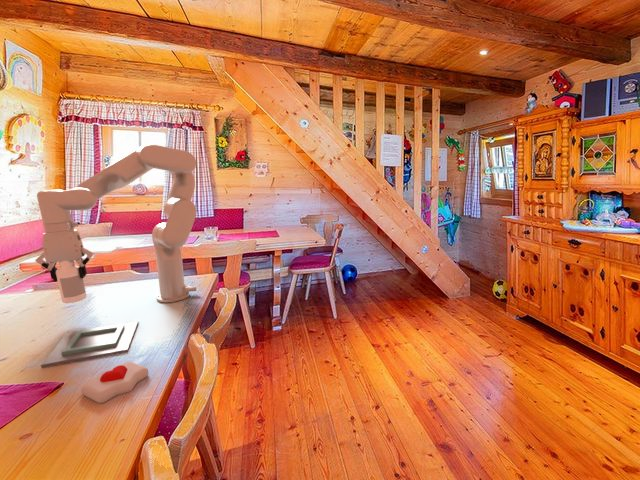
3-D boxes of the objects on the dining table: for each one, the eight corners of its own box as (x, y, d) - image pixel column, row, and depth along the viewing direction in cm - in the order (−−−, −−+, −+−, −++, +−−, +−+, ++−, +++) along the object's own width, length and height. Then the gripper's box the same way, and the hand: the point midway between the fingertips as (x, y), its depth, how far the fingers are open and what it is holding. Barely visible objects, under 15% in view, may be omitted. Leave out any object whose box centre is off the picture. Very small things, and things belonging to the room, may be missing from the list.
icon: (102, 392, 68) (76, 379, 73) (105, 409, 69) (79, 396, 74) (153, 363, 79) (128, 353, 84) (155, 378, 80) (130, 368, 84)
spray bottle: (73, 304, 107) (62, 252, 103) (57, 303, 108) (45, 252, 104) (91, 296, 113) (81, 247, 109) (75, 295, 115) (65, 247, 111)
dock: (138, 323, 110) (137, 318, 110) (127, 351, 92) (126, 346, 91) (68, 334, 103) (67, 328, 103) (41, 367, 85) (40, 361, 84)
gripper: (93, 223, 112) (102, 272, 116) (31, 228, 106) (43, 279, 109) (86, 226, 105) (97, 278, 109) (20, 232, 99) (33, 286, 103)
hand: (70, 278), depth 109 cm, fingers closed on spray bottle, 6 cm apart
